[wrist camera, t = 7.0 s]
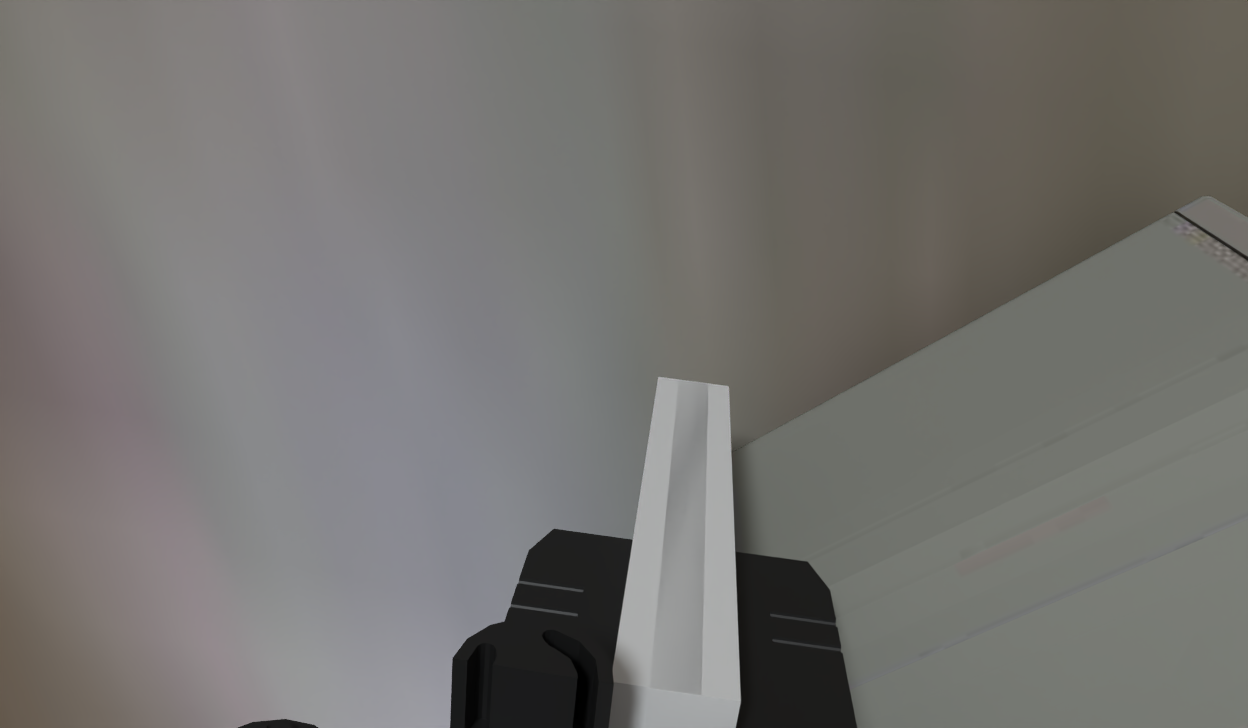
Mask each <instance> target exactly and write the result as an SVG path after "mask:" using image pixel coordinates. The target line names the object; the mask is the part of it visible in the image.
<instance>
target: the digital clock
mask: <svg viewBox="0 0 1248 728" xmlns="http://www.w3.org/2000/svg"><path fill="white" fill-rule="evenodd" d="M731 456H732V482H733V508H734V534H735V552H742V553H749V554H757V555H764V556H771V557H778V558H786V559H793V560H800V561H807V562H809V564H810V565H811V566H812V568H813V569H814V570H815V571H816V573H817V574H818V575H819V576H820V578H821V579H822V580H823V582H824V583H825V584H826V585H827V587H828V588H829V589H830V592H831V597H832V602H833V607H834V612H835V617H836V627H838V632H839V637H840V642H841V653H843V658H844V663H845V668H846V673H847V678H848V683H849V688H850V693H851V698H852V703H853V708H854V714H855V719H856V724H857V728H1248V217H1246V216H1244V215H1242V214H1241V213H1239V212H1237V211H1235V210H1234V209H1232V208H1230V207H1228V206H1227V205H1225V204H1223V203H1221V202H1220V201H1218V200H1216V199H1214V198H1213V197H1211V196H1203V197H1200V198H1198V199H1196V200H1194V201H1193V202H1191V203H1189V204H1187V205H1185V206H1183V207H1182V208H1180V209H1178V210H1176V211H1175V212H1174V213H1173V212H1172V213H1171V214H1169V215H1167V216H1165V217H1163V218H1161V219H1160V220H1158V221H1156V222H1154V223H1152V224H1150V225H1149V226H1147V227H1145V228H1143V229H1141V230H1139V231H1138V232H1136V233H1134V234H1132V235H1130V236H1128V237H1127V238H1125V239H1123V240H1121V241H1119V242H1117V243H1116V244H1114V245H1112V246H1110V247H1108V248H1106V249H1105V250H1103V251H1101V252H1099V253H1097V254H1095V255H1094V256H1092V257H1090V258H1088V259H1086V260H1084V261H1083V262H1081V263H1079V264H1077V265H1075V266H1073V267H1072V268H1070V269H1068V270H1066V271H1064V272H1062V273H1061V274H1059V275H1057V276H1055V277H1053V278H1051V279H1050V280H1048V281H1046V282H1044V283H1042V284H1040V285H1039V286H1037V287H1035V288H1033V289H1031V290H1029V291H1028V292H1026V293H1024V294H1022V295H1020V296H1018V297H1017V298H1015V299H1013V300H1011V301H1009V302H1007V303H1006V304H1004V305H1002V306H1000V307H998V308H996V309H995V310H993V311H991V312H989V313H987V314H985V315H984V316H982V317H980V318H978V319H976V320H974V321H973V322H971V323H969V324H967V325H965V326H963V327H962V328H960V329H958V330H956V331H954V332H952V333H951V334H949V335H947V336H945V337H943V338H941V339H940V340H938V341H936V342H934V343H932V344H930V345H929V346H927V347H925V348H923V349H921V350H919V351H918V352H916V353H914V354H912V355H910V356H908V357H907V358H905V359H903V360H901V361H899V362H897V363H896V364H894V365H892V366H890V367H888V368H886V369H885V370H883V371H881V372H879V373H877V374H875V375H874V376H872V377H870V378H868V379H866V380H864V381H863V382H861V383H859V384H857V385H855V386H853V387H852V388H850V389H848V390H846V391H844V392H842V393H840V394H839V395H837V396H835V397H833V398H831V399H829V400H828V401H826V402H824V403H822V404H820V405H818V406H817V407H815V408H813V409H811V410H809V411H807V412H806V413H804V414H802V415H800V416H798V417H796V418H795V419H793V420H791V421H789V422H787V423H785V424H784V425H782V426H780V427H778V428H776V429H774V430H773V431H771V432H769V433H767V434H765V435H763V436H762V437H760V438H758V439H756V440H754V441H752V442H751V443H749V444H747V445H745V446H743V447H741V448H740V449H738V450H736V451H734V452H732V453H731Z"/></svg>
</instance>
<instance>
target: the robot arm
mask: <svg viewBox="0 0 1248 728" xmlns="http://www.w3.org/2000/svg"><path fill="white" fill-rule="evenodd" d="M238 728H318V727H316V726H315V725H312V724H307V723H302V722H297V721H292V720H287V719H282V720H271V721H261V722H252V723H249V724H246V725H244V726H241V727H238ZM450 728H857V724H856V719H855V714H854V708H853V703H852V698H851V693H850V688H849V683H848V678H847V673H846V668H845V663H844V658H843V653H841V642H840V637H839V632H838V627H836V617H835V612H834V607H833V602H832V597H831V592H830V589H829V588H828V587H827V585H826V584H825V583H824V582H823V580H822V579H821V578H820V576H819V575H818V574H817V573H816V571H815V570H814V569H813V568H812V566H811V565H810V564H809V562H807V561H800V560H793V559H786V558H778V557H771V556H764V555H757V554H749V553H742V552H735V534H734V508H733V482H732V456H731V429H730V403H729V386H723V385H716V384H708V383H702V382H694V381H687V380H679V379H671V378H663V377H658V382H657V389H656V395H655V402H654V408H653V414H652V421H651V427H650V434H649V440H648V446H647V453H646V459H645V465H644V472H643V478H642V485H641V491H640V497H639V504H638V510H637V517H636V523H635V529H634V536H633V540H630V539H623V538H616V537H609V536H601V535H594V534H587V533H580V532H573V531H566V530H558V529H553V530H552V531H551V532H550V533H549V534H547V535H546V536H545V537H544V538H543V539H542V540H540V541H539V542H538V543H537V544H536V545H535V546H534V547H532V548H531V549H530V550H529V552H528V555H527V558H526V561H525V563H524V566H523V569H522V572H521V575H520V578H519V584H517V587H516V590H515V593H514V596H513V598H512V601H511V607H510V608H509V610H508V613H507V616H506V619H505V622H501V623H497V624H493V625H490V626H488V627H486V628H485V629H483V630H481V631H480V632H478V633H476V634H474V635H473V636H471V637H469V638H468V639H467V640H466V641H465V642H464V644H463V645H462V646H461V648H460V649H459V650H458V652H457V653H456V654H455V656H454V657H453V664H452V693H451V723H450Z"/></svg>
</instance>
